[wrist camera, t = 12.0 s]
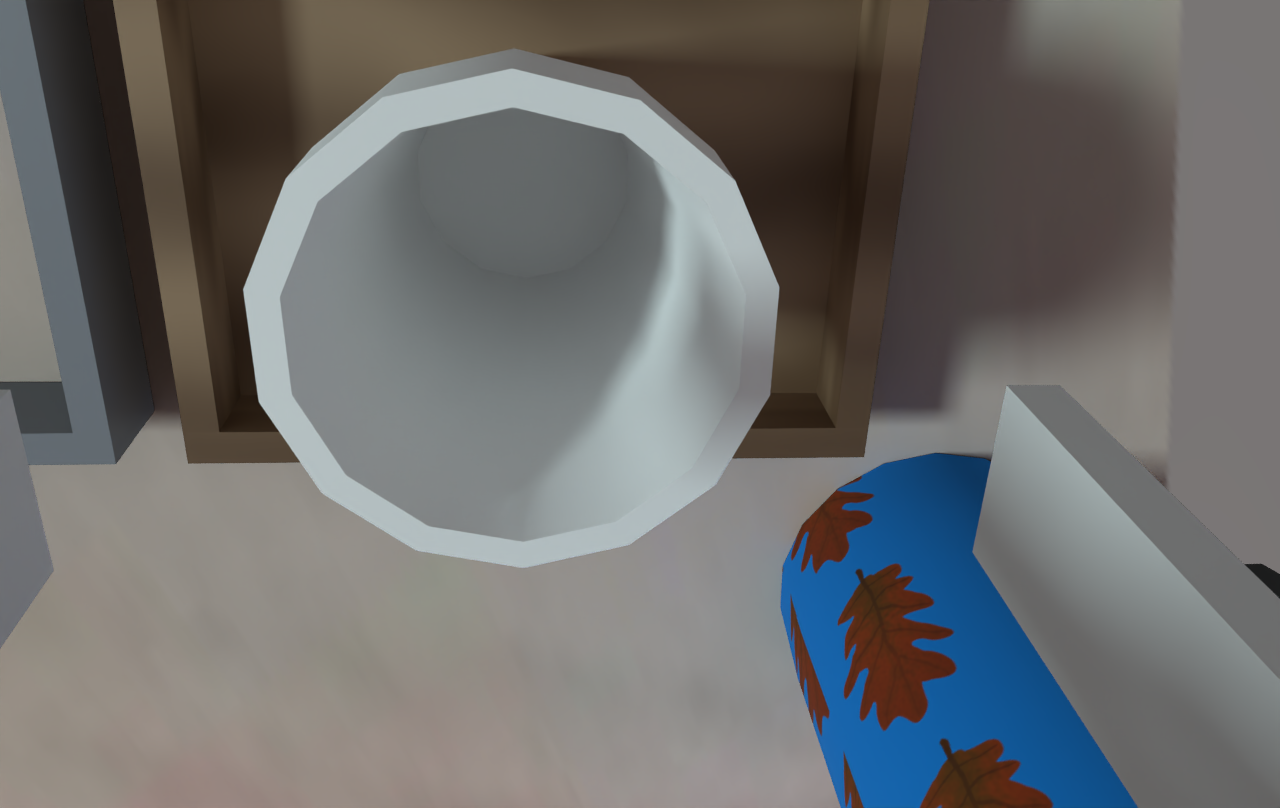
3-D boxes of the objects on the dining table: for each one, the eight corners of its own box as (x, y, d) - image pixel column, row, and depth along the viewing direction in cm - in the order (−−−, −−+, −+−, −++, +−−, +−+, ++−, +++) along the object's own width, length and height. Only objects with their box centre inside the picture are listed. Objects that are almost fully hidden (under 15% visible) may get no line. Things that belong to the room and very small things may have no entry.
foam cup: (734, 247, 32) (846, 451, 21) (459, 372, 33) (419, 635, 22) (600, -67, 28) (647, -33, 17) (292, 86, 29) (132, 219, 18)
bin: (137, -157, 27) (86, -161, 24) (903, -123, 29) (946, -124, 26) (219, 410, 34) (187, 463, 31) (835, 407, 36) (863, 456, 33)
